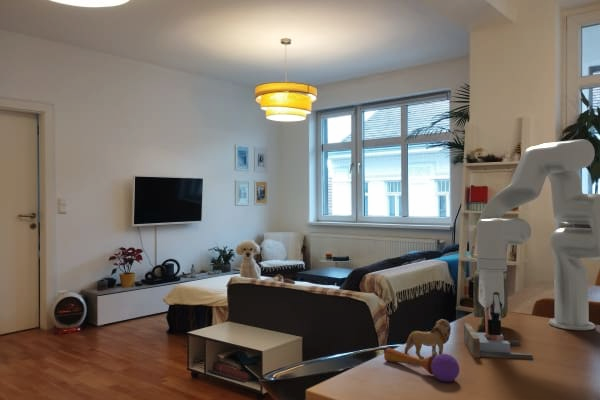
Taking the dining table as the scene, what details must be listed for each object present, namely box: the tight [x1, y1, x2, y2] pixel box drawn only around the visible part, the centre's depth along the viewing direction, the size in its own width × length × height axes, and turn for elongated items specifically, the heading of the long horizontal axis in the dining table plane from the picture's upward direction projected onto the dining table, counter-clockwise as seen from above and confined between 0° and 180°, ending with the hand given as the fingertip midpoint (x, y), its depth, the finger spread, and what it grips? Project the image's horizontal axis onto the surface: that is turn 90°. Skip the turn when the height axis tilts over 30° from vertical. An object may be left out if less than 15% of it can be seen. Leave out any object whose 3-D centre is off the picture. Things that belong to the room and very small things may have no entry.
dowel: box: [485, 306, 500, 341], centre depth 127 cm, size 4×4×12 cm
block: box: [475, 331, 511, 353], centre depth 127 cm, size 10×8×3 cm
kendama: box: [383, 347, 460, 383], centre depth 111 cm, size 6×6×20 cm
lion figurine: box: [403, 318, 452, 360], centre depth 122 cm, size 15×5×9 cm, turn 114°
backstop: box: [463, 322, 534, 360], centre depth 127 cm, size 16×14×5 cm
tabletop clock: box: [472, 269, 509, 331], centre depth 150 cm, size 14×9×25 cm, turn 153°
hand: (492, 331), depth 127 cm, fingers open, 3 cm apart
